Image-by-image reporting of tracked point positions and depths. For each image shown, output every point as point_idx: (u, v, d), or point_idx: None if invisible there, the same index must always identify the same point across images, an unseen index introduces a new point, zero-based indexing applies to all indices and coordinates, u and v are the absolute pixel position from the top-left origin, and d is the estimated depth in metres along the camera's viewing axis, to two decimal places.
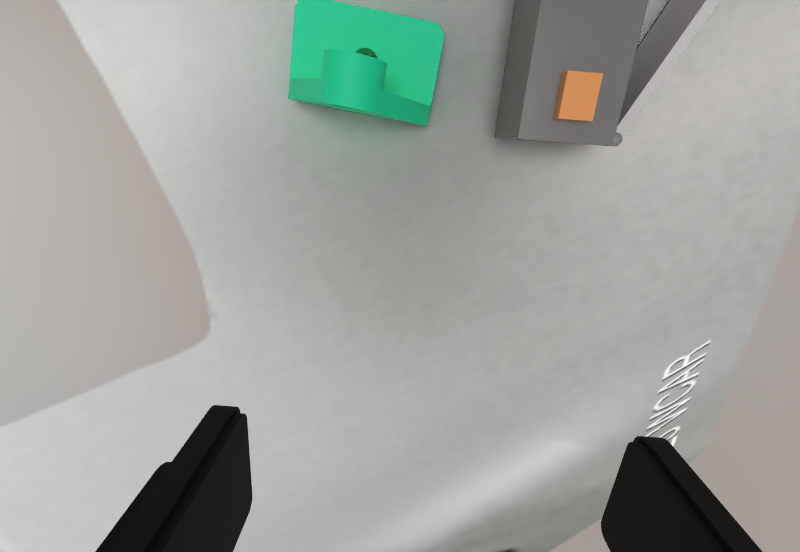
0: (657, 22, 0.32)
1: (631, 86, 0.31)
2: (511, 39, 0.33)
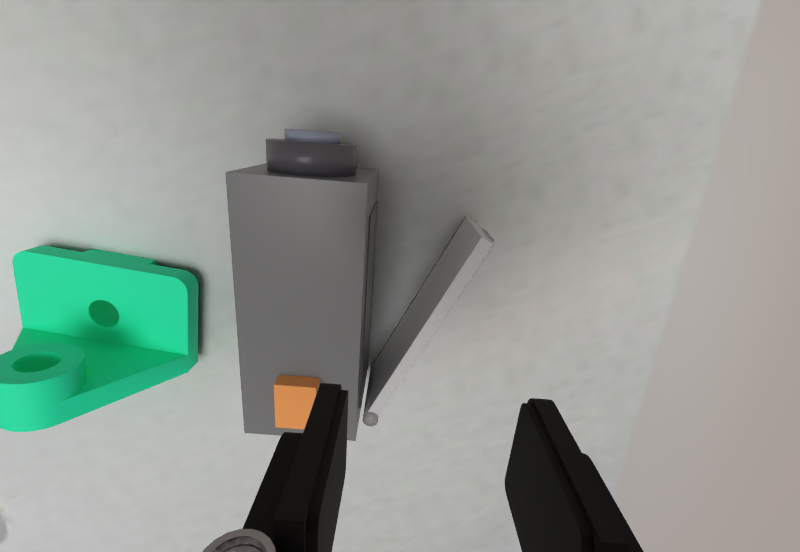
0: (437, 264, 0.28)
1: (397, 349, 0.27)
2: None
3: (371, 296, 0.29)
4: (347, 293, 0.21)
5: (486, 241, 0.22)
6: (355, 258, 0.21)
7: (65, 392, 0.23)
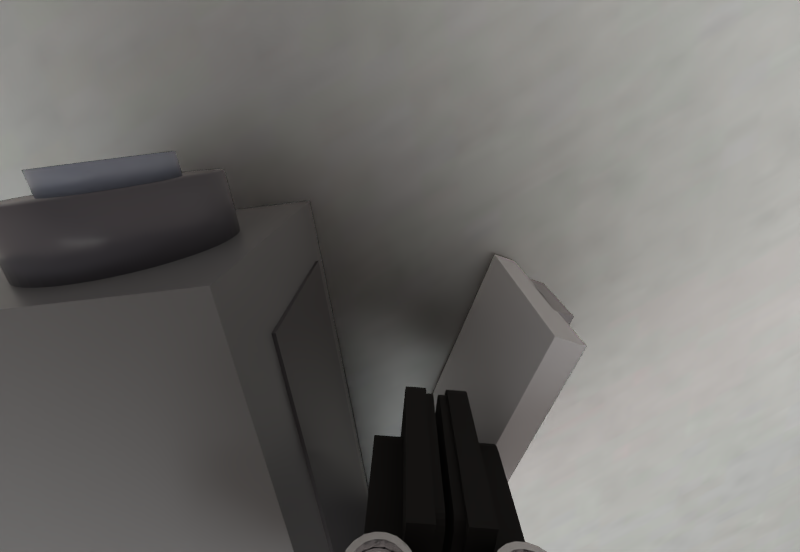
0: (457, 349, 0.15)
1: None
2: None
3: (348, 423, 0.16)
4: (252, 533, 0.09)
5: (568, 343, 0.09)
6: (243, 463, 0.08)
7: None
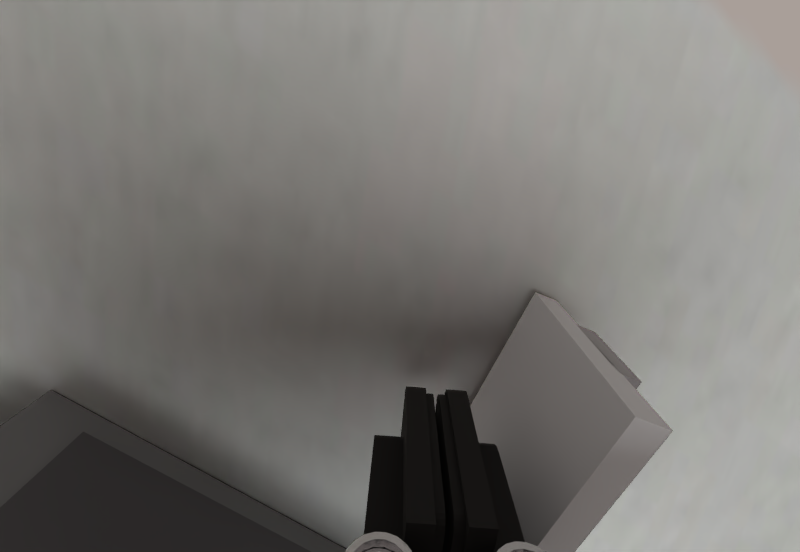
0: (484, 394, 0.14)
1: None
2: None
3: (239, 529, 0.15)
4: None
5: (650, 425, 0.07)
6: None
7: None
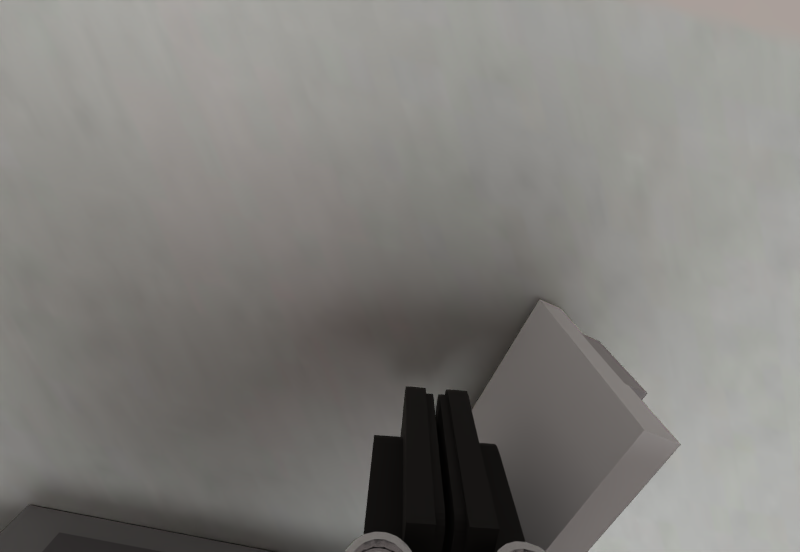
0: (485, 400, 0.14)
1: None
2: None
3: None
4: None
5: (658, 438, 0.07)
6: None
7: None
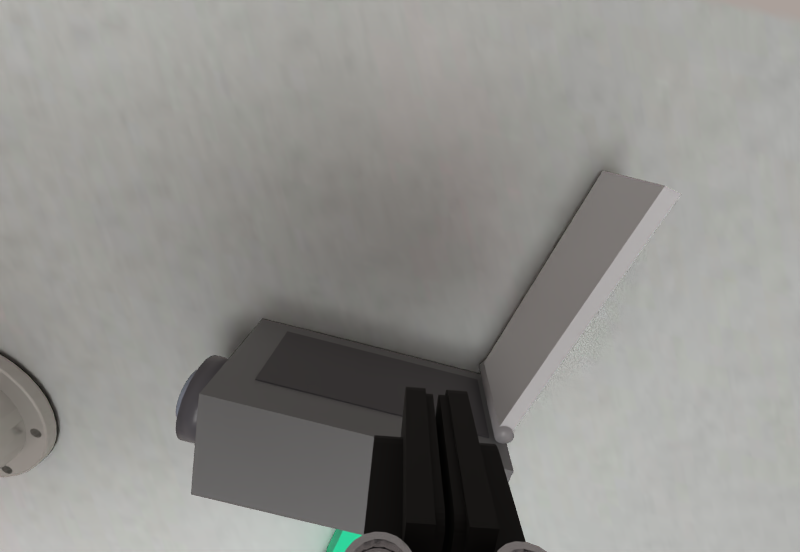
0: (566, 235, 0.22)
1: (527, 345, 0.21)
2: None
3: (387, 361, 0.26)
4: (315, 435, 0.20)
5: (671, 191, 0.16)
6: (276, 420, 0.19)
7: None
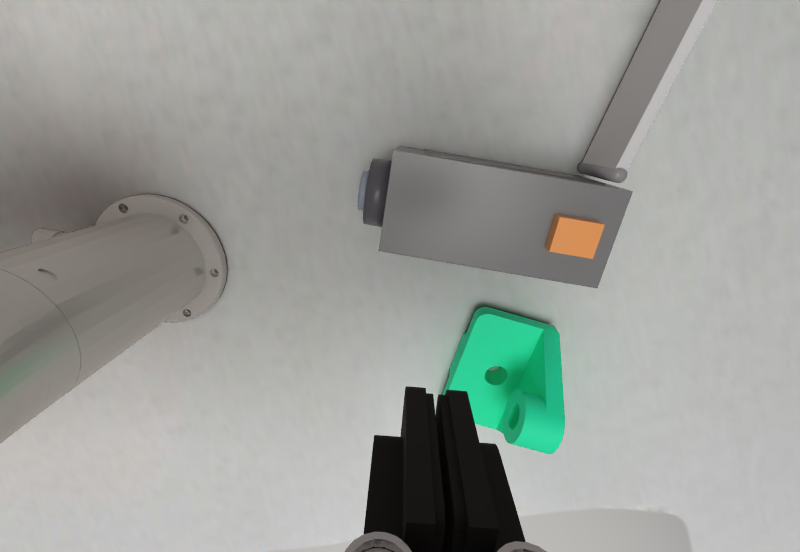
0: (648, 31, 0.29)
1: (629, 111, 0.28)
2: None
3: (506, 163, 0.32)
4: (479, 177, 0.26)
5: None
6: (450, 167, 0.26)
7: (540, 406, 0.31)
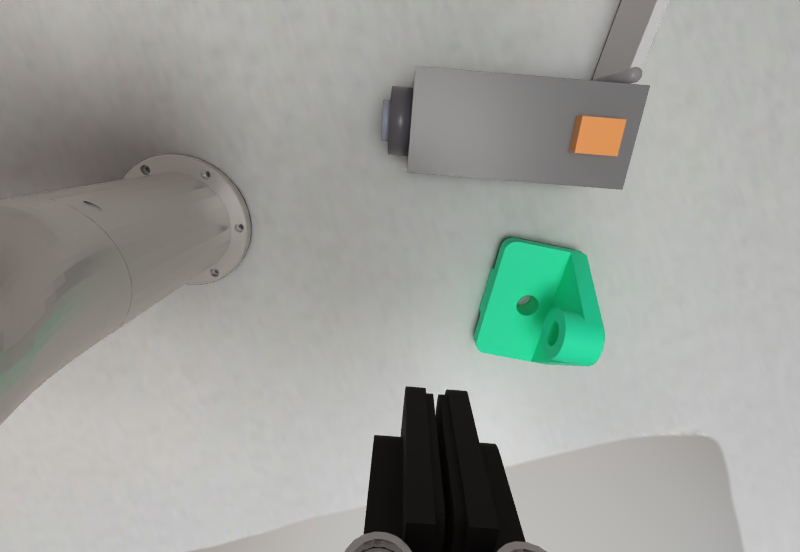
0: None
1: (636, 14, 0.29)
2: None
3: None
4: (501, 86, 0.27)
5: None
6: (472, 78, 0.27)
7: (578, 318, 0.32)
